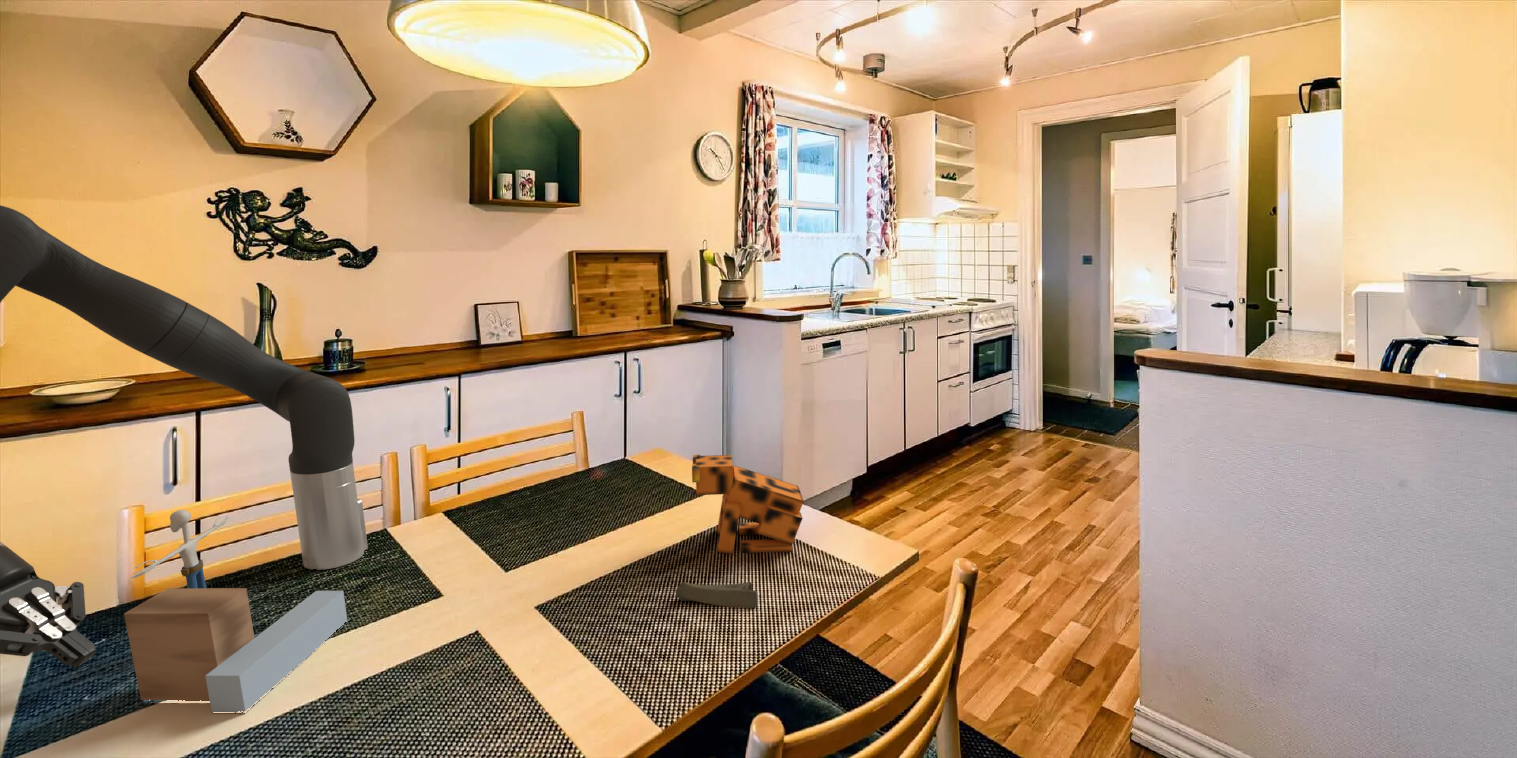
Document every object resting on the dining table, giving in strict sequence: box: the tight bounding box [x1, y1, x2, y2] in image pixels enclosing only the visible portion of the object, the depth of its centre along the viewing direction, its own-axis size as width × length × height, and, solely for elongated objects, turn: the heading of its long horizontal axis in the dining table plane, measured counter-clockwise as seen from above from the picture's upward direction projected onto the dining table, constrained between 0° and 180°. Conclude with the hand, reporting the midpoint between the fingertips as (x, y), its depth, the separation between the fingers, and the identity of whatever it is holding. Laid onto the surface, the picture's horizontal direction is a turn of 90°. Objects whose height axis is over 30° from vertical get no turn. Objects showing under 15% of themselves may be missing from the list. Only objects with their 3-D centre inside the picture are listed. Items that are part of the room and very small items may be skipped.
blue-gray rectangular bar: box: [205, 590, 348, 713], centre depth 89 cm, size 20×4×5 cm, turn 0°
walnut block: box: [123, 587, 255, 701], centre depth 83 cm, size 6×10×12 cm, turn 90°
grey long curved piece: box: [675, 581, 758, 609], centre depth 106 cm, size 13×5×4 cm, turn 84°
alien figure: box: [130, 509, 231, 588], centre depth 93 cm, size 20×5×19 cm, turn 8°
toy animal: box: [691, 454, 804, 555], centre depth 125 cm, size 10×20×16 cm, turn 94°
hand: (86, 659), depth 84 cm, fingers closed
